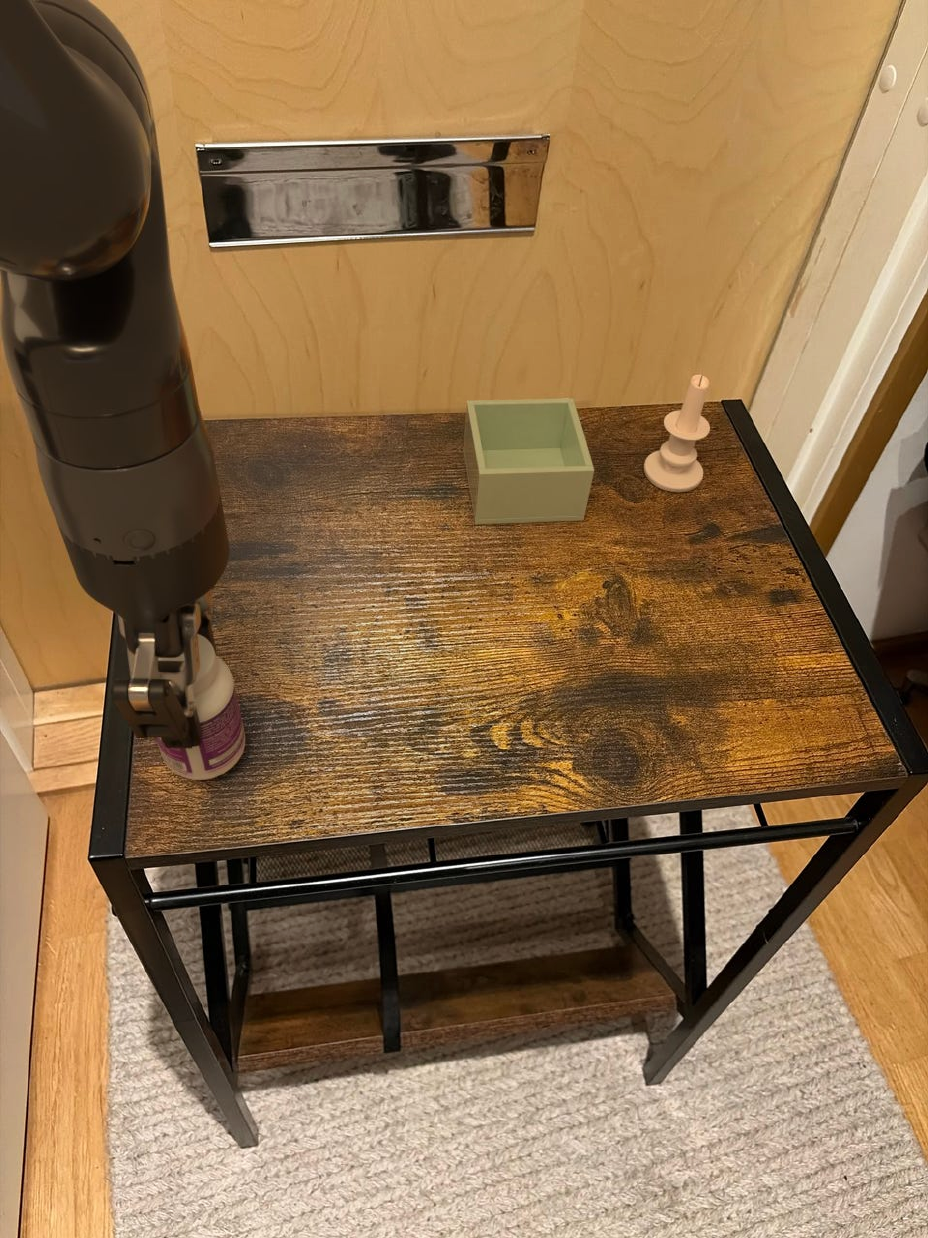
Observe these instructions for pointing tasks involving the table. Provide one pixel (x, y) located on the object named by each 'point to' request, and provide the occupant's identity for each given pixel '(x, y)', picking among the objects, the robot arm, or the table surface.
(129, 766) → the table surface
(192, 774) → the pill bottle
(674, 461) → the candle
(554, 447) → the green open box
